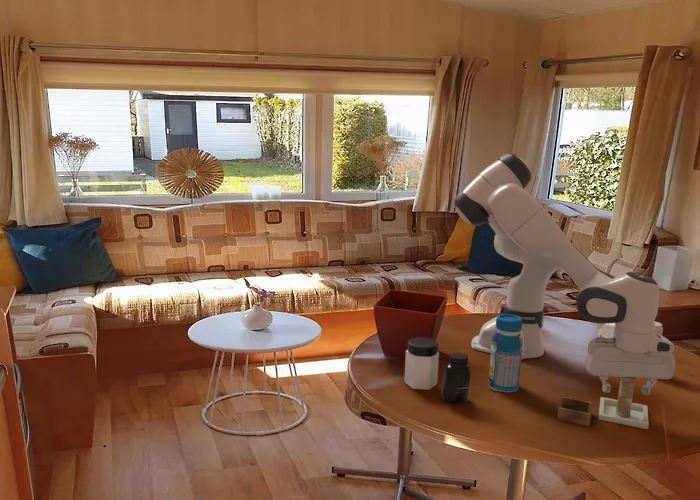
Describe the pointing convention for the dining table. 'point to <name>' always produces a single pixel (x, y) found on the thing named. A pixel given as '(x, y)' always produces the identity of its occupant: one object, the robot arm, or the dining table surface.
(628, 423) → the tray
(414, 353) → the jar
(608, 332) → the white low-poly figurine
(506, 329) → the beverage bottle
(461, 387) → the supplement bottle
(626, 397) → the dowel
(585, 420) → the open square box
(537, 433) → the dining table surface
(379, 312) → the plant pot
